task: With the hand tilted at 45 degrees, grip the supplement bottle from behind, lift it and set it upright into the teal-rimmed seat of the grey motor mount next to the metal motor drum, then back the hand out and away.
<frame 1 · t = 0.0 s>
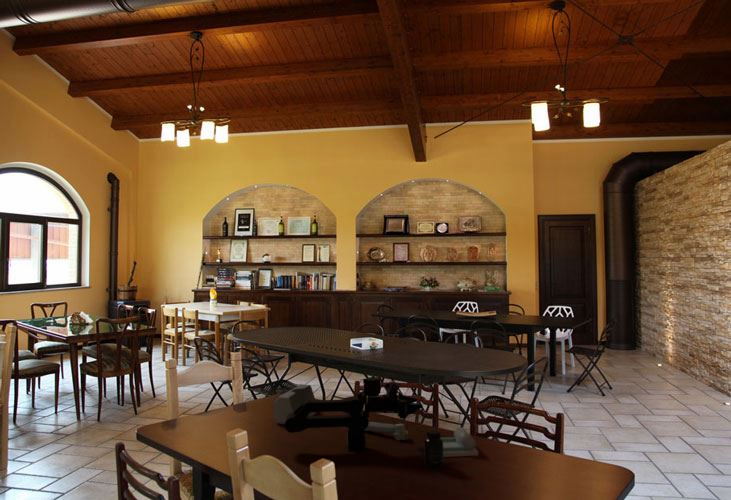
hand: (419, 403, 205), 17 cm above the table, tool horizontal, fingers open, 9 cm apart
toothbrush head: (380, 435, 217), on the table
grey faceted block: (292, 417, 241), on the table
motor mount: (447, 449, 199), on the table
supplement bottle: (433, 465, 184), on the table
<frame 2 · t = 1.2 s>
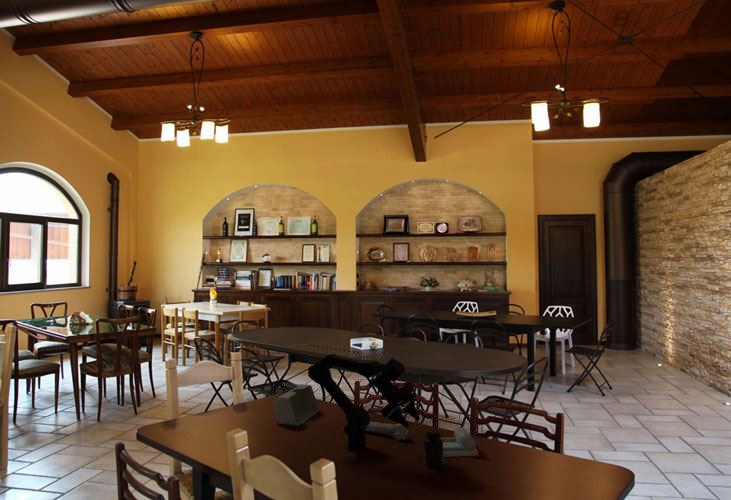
hand: (413, 423, 189), 13 cm above the table, tool tilted 45°, fingers open, 9 cm apart
nothing on the table moved.
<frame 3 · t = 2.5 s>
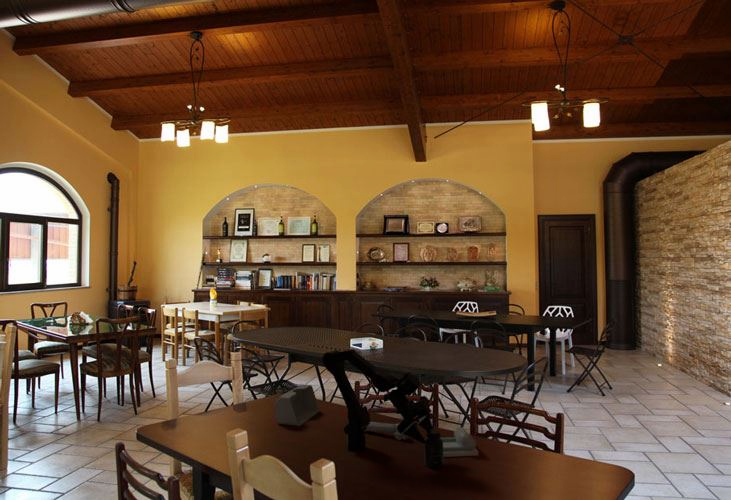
hand: (429, 438, 185), 9 cm above the table, tool tilted 45°, fingers open, 9 cm apart
nothing on the table moved.
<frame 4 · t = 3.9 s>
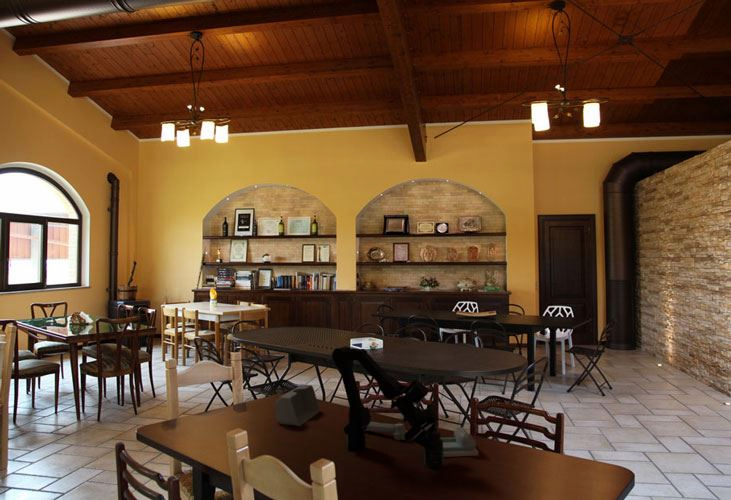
hand: (437, 447, 184), 7 cm above the table, tool tilted 45°, fingers closed on supplement bottle, 7 cm apart
supplement bottle: (433, 465, 184), on the table, touching gripper
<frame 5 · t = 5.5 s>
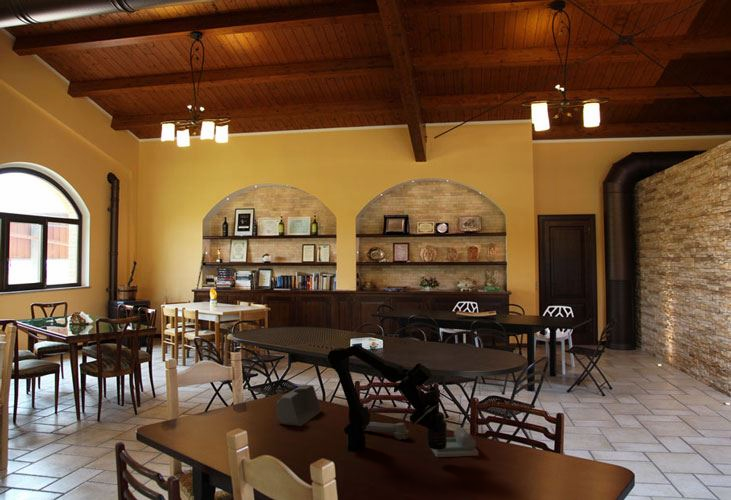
hand: (440, 428, 186), 12 cm above the table, tool tilted 45°, fingers closed on supplement bottle, 7 cm apart
supplement bottle: (436, 447, 187), point 6 cm above the table, touching gripper
when the fingers open (10 cm above the table, at t = 7.6 s): supplement bottle drops 1 cm, resting on motor mount.
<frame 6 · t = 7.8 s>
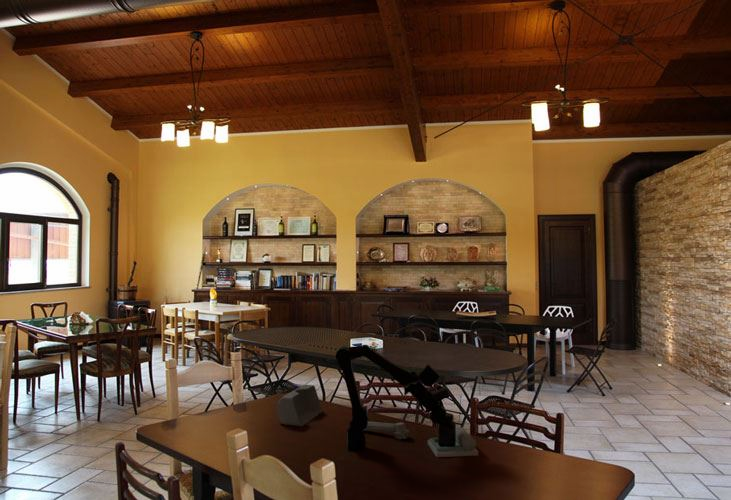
hand: (450, 424, 200), 10 cm above the table, tool tilted 45°, fingers open, 9 cm apart
supplement bottle: (446, 446, 199), point 1 cm above the table, touching motor mount
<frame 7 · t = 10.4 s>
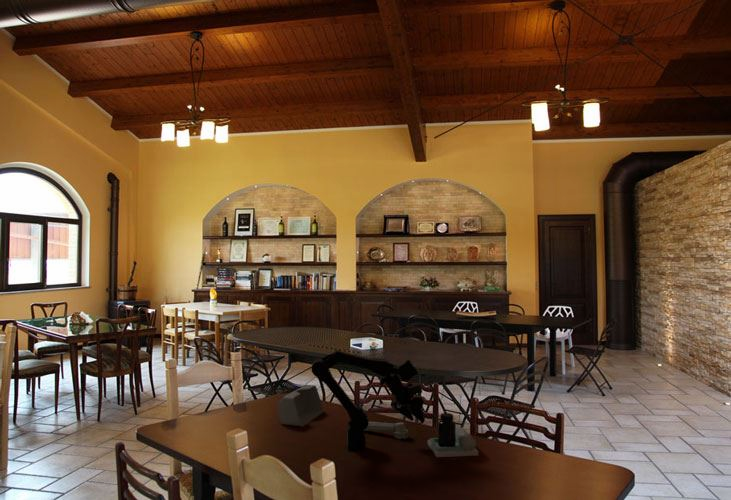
hand: (418, 421, 203), 10 cm above the table, tool tilted 35°, fingers open, 9 cm apart
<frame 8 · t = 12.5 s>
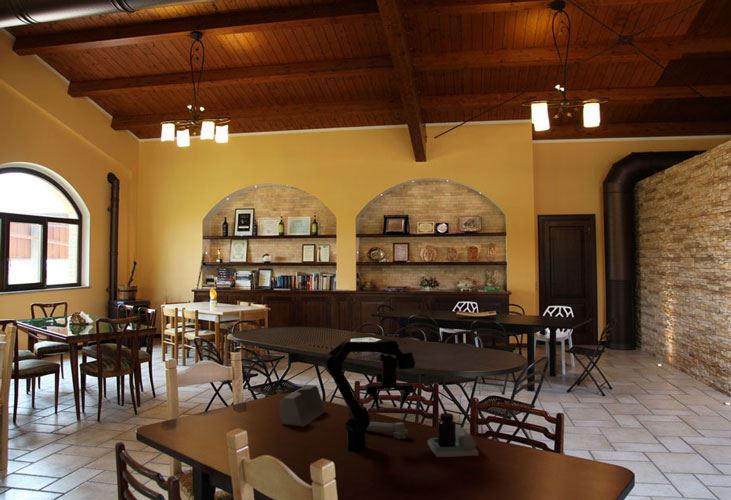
hand: (389, 410, 207), 13 cm above the table, tool pointing down, fingers open, 9 cm apart
at the end: supplement bottle 0.2 cm off-centre on the motor mount, point 1.3 cm above the motor mount's base; supplement bottle tilted 0°; the gripper is holding nothing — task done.
